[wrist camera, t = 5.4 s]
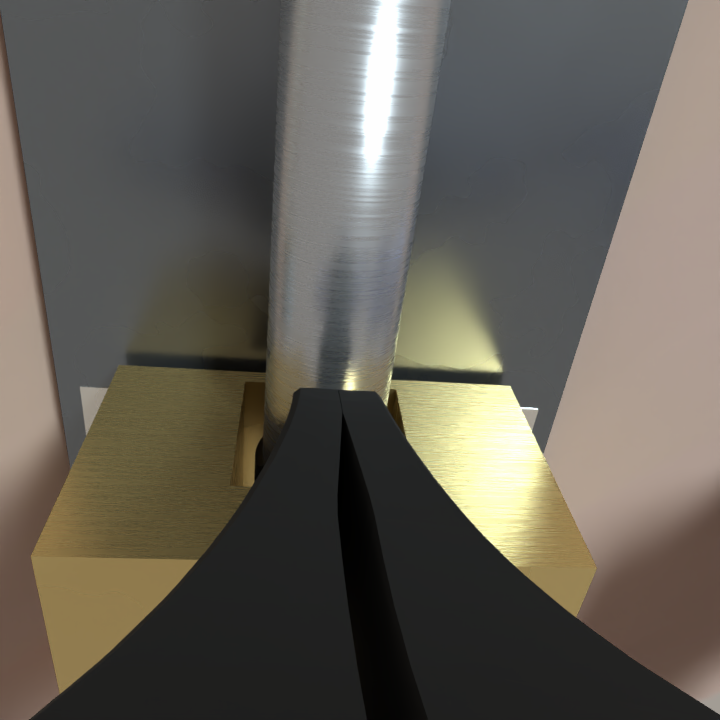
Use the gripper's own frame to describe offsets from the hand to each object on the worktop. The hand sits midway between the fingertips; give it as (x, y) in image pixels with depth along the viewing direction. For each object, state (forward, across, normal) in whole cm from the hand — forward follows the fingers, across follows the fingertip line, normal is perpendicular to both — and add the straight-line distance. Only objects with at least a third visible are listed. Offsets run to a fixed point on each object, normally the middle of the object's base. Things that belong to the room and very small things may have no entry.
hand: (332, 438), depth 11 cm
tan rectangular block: (+5, 0, +3) cm, 6 cm away
